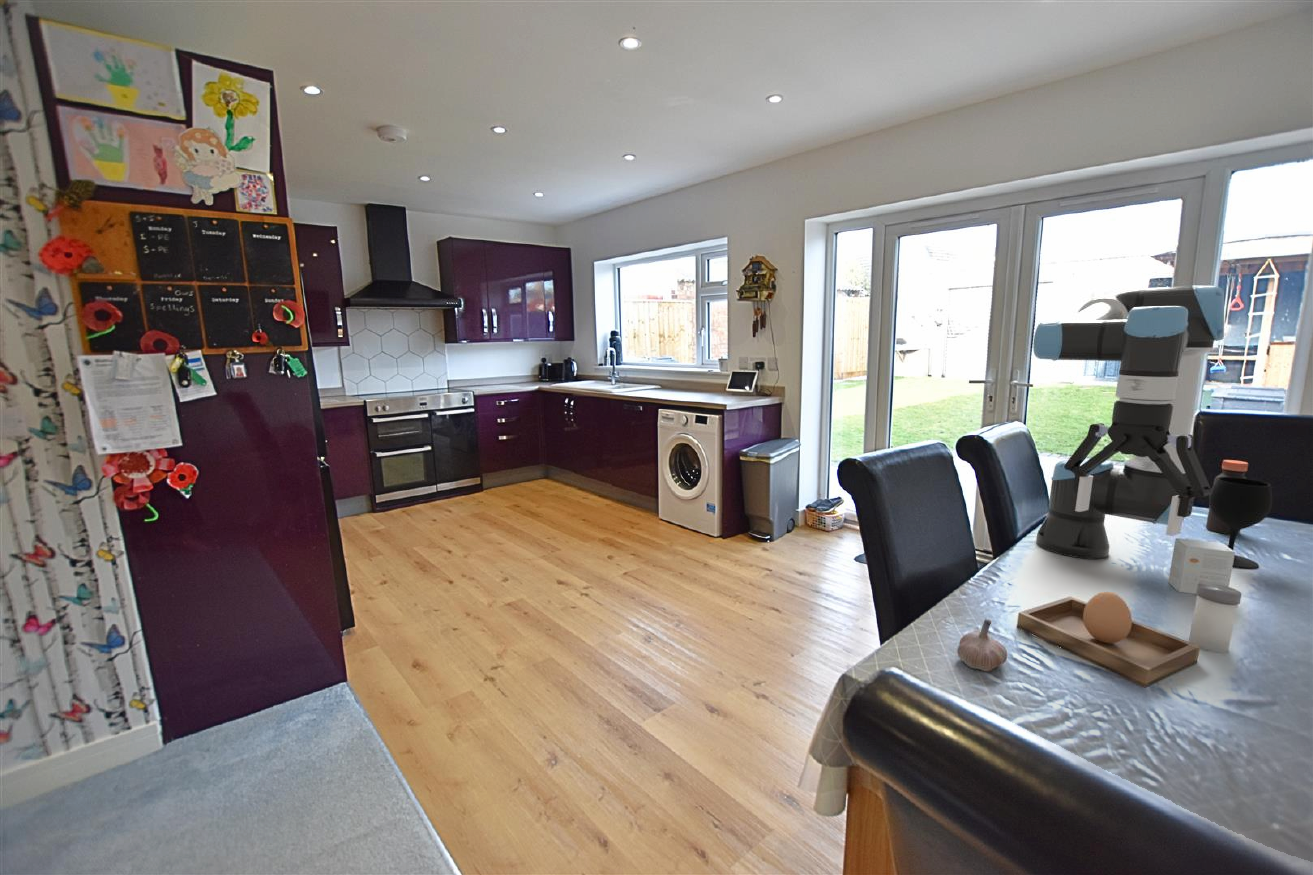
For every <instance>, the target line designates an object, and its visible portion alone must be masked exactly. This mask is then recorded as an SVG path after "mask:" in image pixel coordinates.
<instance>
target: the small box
mask: <svg viewBox="0 0 1313 875" xmlns="http://www.w3.org/2000/svg"><path fill="white" fill-rule="evenodd" d="M1235 555H1236V552H1235V551H1234V549H1233V550H1231V549H1230V548H1229V547H1228V545H1226V544H1224V543H1223V542H1216V541H1207V540H1197V539H1191V538H1190V539H1189V538H1180V537H1175V539H1174V544H1173V552H1172V555H1171V556H1172V558H1171V563H1170V570H1169V573H1168V574H1169V575H1168V583H1169V584H1170V585H1171V586H1172V587H1173V588H1174V589H1175V590H1176V591H1177V592H1179V593H1184V594H1191V595H1197V594H1196V592H1197V586H1198V583H1201V582H1208V583H1215V584H1220V585H1224V586H1228V587H1230V580H1231V577H1232V572H1233V570H1232V569H1233V567H1232V566H1233V561H1234V556H1235Z"/></svg>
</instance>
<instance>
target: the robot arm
mask: <svg viewBox="0 0 1313 875" xmlns="http://www.w3.org/2000/svg"><path fill="white" fill-rule="evenodd" d="M1034 332H1035V333H1034V337H1033V344H1032V345H1033V347H1032V348H1033V349H1032V350H1033V354H1034V357H1036V358H1037V359H1039V360H1050V361H1051V360H1052V361H1054V362H1055V361H1097V362H1098V361H1100V362H1101V361H1102V362H1120V366H1119V372H1118V377H1117V383H1116V389H1115V390H1116V391H1115V397H1116V398H1118V400H1115V402H1113V411H1112V415H1111V424H1110V426H1109V425H1105V424H1104V423H1102V422H1099V423H1098V422H1097V423H1092V424H1091V425H1089V428H1088V432H1087V435H1086V436H1085V437H1084V439H1083V440H1082V442H1081V443H1080V444H1079V445H1078V447H1077V448H1076V449H1075V451H1074V452H1073V453H1072V455H1071V456H1070V457H1069V458H1068V459H1064V460H1060V461H1058V462H1057V463H1055V465H1054V469H1053V473H1052V477H1051V486H1050V488H1051V489H1050V495H1049V501H1048V502H1049V503H1048V509H1047V510H1048V512H1047V515H1046V517H1045V518H1044V520H1043V522H1042V524H1041V526H1040V528H1039V529H1038V531H1037V533H1036V539H1035V543H1036V544H1037V545H1038V546H1039V547H1041V548H1043V549H1045V550H1047V551H1051V552H1054V553H1056V554H1060V555H1064V556H1069V557H1073V558H1080V559H1081V558H1082V559H1103V558H1106V557H1108V556H1109V552H1110V543H1109V538H1108V536H1107V534H1108V533H1107V531H1106V527H1105V519H1106V516H1114V517H1119V518H1125V519H1130V520H1135V521H1140V522H1141V521H1142V522H1146V523H1152V524H1154V525H1156V524H1159V525H1164V526H1166V532H1165V536H1169V537H1174V536H1177V535H1179V534H1181V532H1182V531H1181V530H1182V526H1183V522H1184V519H1185V518H1187V517H1188V518H1189V517H1190V516H1191V514H1192V512H1193V506H1194V500H1195V498H1203V497H1207V496H1210V494H1211V493H1212V487H1211V486H1210V483H1209V481H1208V479H1207V476H1206V474H1205V472H1204V470H1203V468H1202V465H1201V463H1200V461H1199V458H1198V456H1197V454H1196V451H1195V449H1194V444H1195V442H1194V440H1195V438H1194V435H1192V434H1189V430H1190V425H1191V418H1192V414H1193V413H1192V412H1193V409H1194V408H1193V407H1194V401H1195V395H1196V389H1197V382H1198V379H1199V374H1200V369H1201V368H1200V366H1201V362H1202V357H1203V356H1204V355H1205V354H1207V353H1208V352H1210V351H1212V350H1213V348H1214V343H1215V342H1218V341H1221V340H1224V339H1225V294H1224V289H1223V288H1221V287H1220V286H1217V285H1195V284H1194V285H1184V286H1182V285H1181V286H1165V287H1163V286H1162V287H1148V288H1147V287H1146V288H1140V287H1139V288H1130V289H1129V288H1128V289H1124V290H1118V291H1115V292H1111V293H1107V294H1104V295H1101V296H1099V297H1096V298H1094V299H1092V300H1090V301H1088V302H1086V303H1084V304H1083V306H1081V307H1080V309H1079V310H1078V311H1077V313H1076V314H1074V315H1073V316H1071V317H1069V318H1068V319H1066V320H1058V319H1055V320H1047V321H1046V320H1045V321H1041V322H1040V323H1039V324H1038V325H1037V327H1036V329H1035V330H1034ZM1106 435H1108V437H1109V439H1110V440H1111V442H1110V443H1108V444H1107V445H1105V446H1104V447H1103V448H1102V449H1101V450H1100V451H1098V452H1097V453H1096V454H1095V455H1093V456H1092V457H1090V458H1087V457H1088V456H1089V455H1090V453H1091V452H1092V451H1093V449H1095V447H1096V445H1097V444H1098V443H1099V442H1100V441H1101V439H1102V438H1103V437H1105V436H1106ZM1117 453H1120V454H1122V455H1134V456H1133V457H1131V458H1130V459H1127V460H1126V461H1125V462H1124V466H1123V468H1118V467H1114V464H1113V461H1111V460H1109V459H1110V458H1112V457H1113V456H1114V455H1116V454H1117Z"/></svg>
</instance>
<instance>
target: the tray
mask: <svg viewBox="0 0 1313 875" xmlns="http://www.w3.org/2000/svg"><path fill="white" fill-rule="evenodd" d="M1087 603H1088V602H1086V601H1083V600H1081V599H1078V598H1076V597H1073V596H1067V597H1064V598H1060V599H1057V600H1054V601H1050V602H1048V603H1045V604H1041V605H1039V606H1035V607H1032V608H1028V609H1024V610H1023V611H1020V612H1018V616H1017V620H1016V621H1017V622H1016V629H1019V630H1021V629H1022V630H1021V631H1023V630H1024V631H1023V632H1025V631H1026V633H1027V634H1030V633H1031V634H1030V635H1032V634H1033V635H1032V636H1034V635H1035V636H1034V637H1036V638H1039V639H1041V640H1042V639H1043V641H1045V642H1047V643H1049V644H1051V645H1053V646H1056V647H1057V646H1058V647H1057V648H1060V647H1061V648H1060V649H1062V650H1065V651H1067V652H1068V651H1069V652H1068V653H1070V654H1072V655H1075V656H1076V657H1079V658H1081V659H1083V660H1086V661H1088V662H1090V663H1091V664H1094V665H1096V666H1098V667H1099V668H1102V669H1105V670H1106V671H1109V672H1111V673H1113V674H1115V675H1117V676H1120V677H1121V678H1124V679H1126V680H1128V681H1131V682H1132V683H1134V684H1137V685H1139V686H1140V687H1143V688H1147V687H1149V686H1151V685H1153V684H1156V683H1157V682H1159V681H1163V680H1164V679H1166V678H1168V677H1170V676H1172V675H1175V674H1176V673H1179V672H1181V671H1183V670H1186V669H1187V668H1190V667H1191V666H1194V665H1196V664H1198V660H1199V654H1200V650H1201V648H1200V646H1198V645H1195V644H1192V643H1191V642H1190V641H1187V640H1184V639H1182V638H1179V637H1176V636H1174V635H1171V634H1169V633H1167V632H1164V631H1161V630H1159V629H1156V628H1154V627H1150V626H1149V625H1145V624H1143V623H1140V622H1138V621H1135V620H1133V619H1132V625H1131V630H1130V632H1129V634H1128V635H1127V636H1126V637H1125V638H1124V639H1123V640H1121V641H1119V642H1116V643H1104V642H1100V641H1099V640H1097V639H1095V638H1094V637H1093V636H1092V635H1091V634H1090V633H1089V632H1088V631H1087V629H1086V627H1085V625H1084V621H1083V613H1084V609H1085V607H1086V604H1087Z"/></svg>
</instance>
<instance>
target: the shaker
mask: <svg viewBox="0 0 1313 875" xmlns="http://www.w3.org/2000/svg"><path fill="white" fill-rule="evenodd" d="M1195 595H1197V596H1196V600H1195V606H1194V611H1193V616H1192V621H1191V622H1192V623H1191V628H1190V633H1189V638H1188V642H1190V643H1192V644H1195V645H1198V646H1200V649H1203V650H1205V651H1209V652H1212V653H1218V654H1226V653H1229V650H1230V644H1231V641H1232V640H1231V639H1232V636H1233V635H1232V634H1233V630H1234V625H1235V622H1236V621H1235V620H1236V616H1237V610H1238V605H1240V603H1241V600H1242V595H1243V594H1242V592H1241V591H1240V590H1238V589H1235V588H1232V587H1231V586H1229V587H1228V586H1224V585H1220V584H1215V583H1208V582H1201V583H1198V586H1197V592H1196V594H1195Z"/></svg>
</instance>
